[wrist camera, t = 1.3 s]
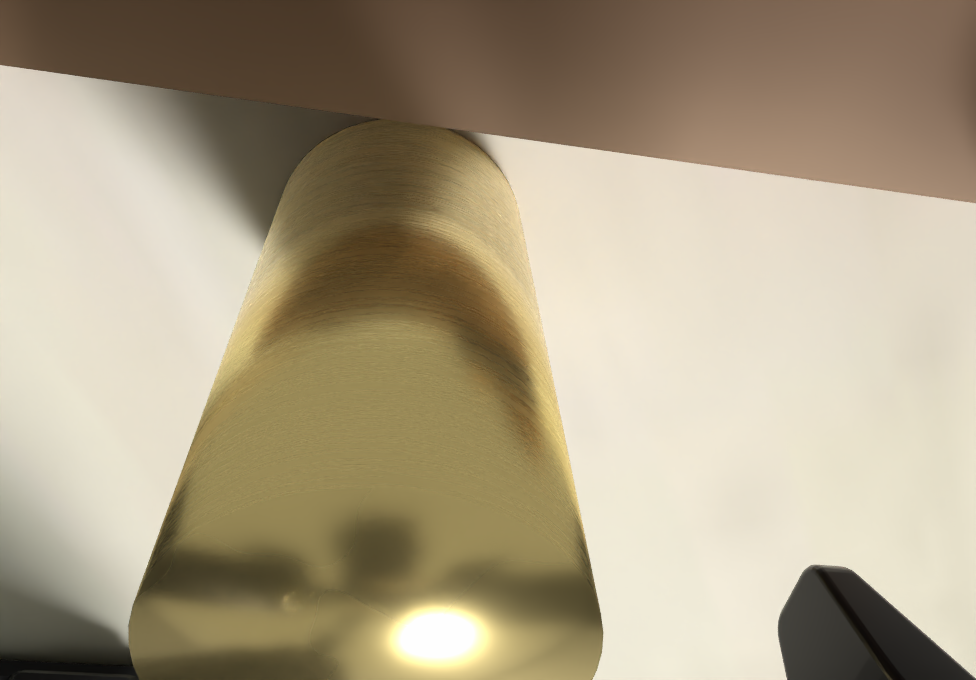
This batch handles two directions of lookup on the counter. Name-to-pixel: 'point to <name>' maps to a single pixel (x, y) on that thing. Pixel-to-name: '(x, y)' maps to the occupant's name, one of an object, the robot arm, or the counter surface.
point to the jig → (571, 72)
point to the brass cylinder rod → (378, 445)
